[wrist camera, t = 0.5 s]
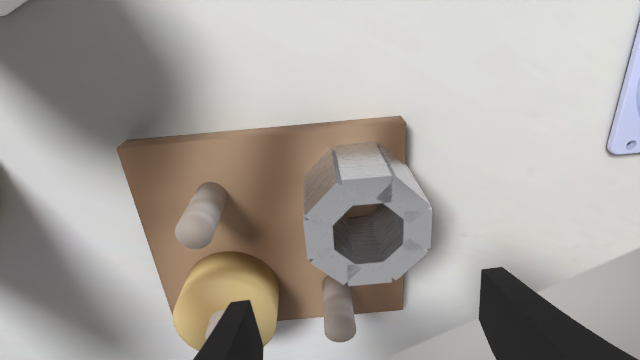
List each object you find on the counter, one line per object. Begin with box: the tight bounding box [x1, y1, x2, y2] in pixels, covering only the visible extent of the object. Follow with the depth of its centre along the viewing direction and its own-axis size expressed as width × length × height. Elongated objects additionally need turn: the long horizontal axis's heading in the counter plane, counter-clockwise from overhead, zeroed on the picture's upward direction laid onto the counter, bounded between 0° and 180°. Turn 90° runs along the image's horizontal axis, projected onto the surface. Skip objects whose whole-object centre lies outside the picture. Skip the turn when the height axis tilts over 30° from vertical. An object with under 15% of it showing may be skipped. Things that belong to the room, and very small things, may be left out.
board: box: [117, 116, 406, 351], centre depth 20 cm, size 14×12×5 cm
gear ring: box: [303, 141, 433, 286], centre depth 18 cm, size 5×5×4 cm
